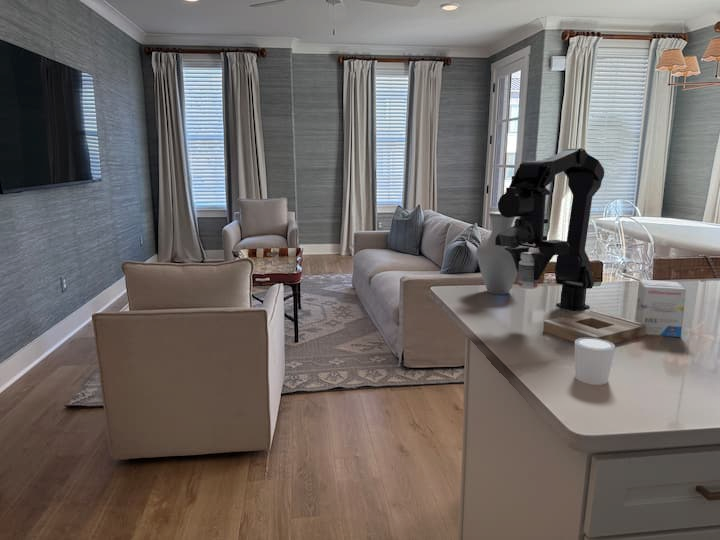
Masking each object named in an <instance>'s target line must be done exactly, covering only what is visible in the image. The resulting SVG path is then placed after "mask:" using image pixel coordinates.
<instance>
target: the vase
mask: <svg viewBox="0 0 720 540" xmlns="http://www.w3.org/2000/svg"><path fill="white" fill-rule="evenodd" d="M488 215H489V218H490V223H491V233H490V235H489V237H488V238H487V239H486V240H484V241H483V242H482V243H480V244H479V245H478V247H477V248H476V259H477V262H478V267H479V270H480V274H481V277H482V280H483V283H484V285H485V288H486V290H487V293H489V294H493V295H499V296H500V295H507V294H510V291H511V289H512V288H513V286H514V284H515V282H516V279H517V278H518V272H517V269H516V266H515V262H514V259H513V257H512V255H511V254H510V253H509V252H508V251H507V250H505V248H507V246H505V247H503V246H499V245H495V239H496V237H497V235H498V234H500V233H501V232H503V231H505V230H506V229H508V228H510V227H513V226H512V224H513V222H514V221H515V220H514V219H516V217H511V218H507V217H504V216H502V215H501V213H500V212H499V211H489V212H488Z"/></svg>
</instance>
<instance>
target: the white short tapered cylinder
mask: <svg viewBox="0 0 720 540" xmlns="http://www.w3.org/2000/svg"><path fill="white" fill-rule="evenodd" d="M615 348H616V345H615V344H613V343H611V342H609V341H606V340H602V339H597V338H579V339H576V340H575V342H574V376H575V378H576V380H578V381H579V382H580V383H581V382H582V383H584V384H587V385H591V386H592V385H593V386H601V385H606V384H608V382H609V378H610V373H611V367H612V364H613V358H614V354H615Z"/></svg>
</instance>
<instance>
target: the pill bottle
mask: <svg viewBox="0 0 720 540" xmlns="http://www.w3.org/2000/svg"><path fill="white" fill-rule="evenodd" d="M531 253H533V252H531V251H530V252H529V251H528V252H523V253H521V257H520V258H521V259H522V260H521V261H519V272H518V275H517V287H519V288H521V289H526V290H533V289H537V288H538V287H539V279H538V280H534V258H533V256H532V255H531Z"/></svg>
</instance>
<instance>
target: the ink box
mask: <svg viewBox="0 0 720 540" xmlns="http://www.w3.org/2000/svg"><path fill="white" fill-rule="evenodd" d="M686 292H687V291H686V288H684V286H683V285H681V284H680V283H679V282H677V281H668V280H667V281H666V280H656V279H655V280H653V279H651V280H650V279H642V278H641V279H639V280H638V290H637V298H636V307H635V315H634V321H635V322H639V323H642V324H646V332H645V336H646V335H648V336H659V337H672V338H673V337H674V338H675V337H676V338H682V330H683V329H682V328H683V321H684V312H685V303H686Z"/></svg>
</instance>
